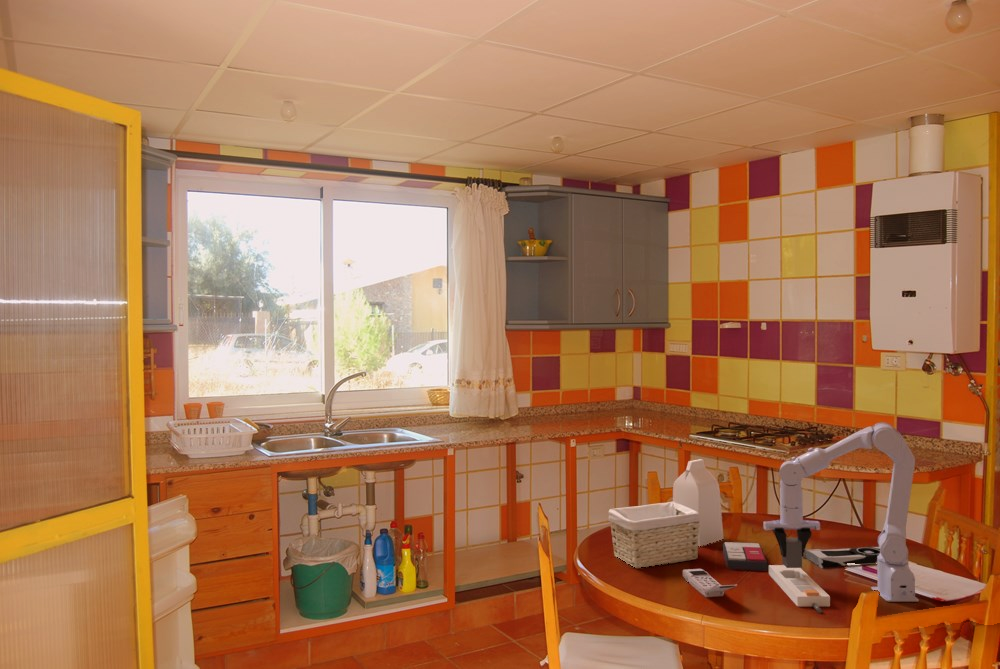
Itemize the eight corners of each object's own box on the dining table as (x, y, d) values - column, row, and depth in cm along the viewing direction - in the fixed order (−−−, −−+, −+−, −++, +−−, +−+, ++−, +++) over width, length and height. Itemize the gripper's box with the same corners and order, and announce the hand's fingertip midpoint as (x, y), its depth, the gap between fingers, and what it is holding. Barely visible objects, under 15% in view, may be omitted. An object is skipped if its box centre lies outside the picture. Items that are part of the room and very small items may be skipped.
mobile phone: (716, 586, 189) (678, 555, 214) (716, 609, 189) (678, 576, 214) (739, 584, 190) (698, 554, 215) (739, 608, 190) (698, 574, 215)
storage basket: (632, 571, 218) (631, 520, 218) (607, 555, 234) (606, 508, 234) (703, 561, 226) (702, 512, 226) (674, 546, 241) (673, 500, 241)
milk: (699, 546, 240) (698, 465, 239) (671, 538, 249) (670, 460, 248) (723, 539, 247) (722, 460, 246) (695, 532, 256) (694, 455, 256)
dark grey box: (727, 557, 218) (722, 540, 233) (727, 572, 218) (722, 553, 233) (767, 559, 216) (760, 541, 230) (767, 574, 216) (760, 555, 231)
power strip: (837, 613, 184) (836, 600, 184) (803, 613, 185) (803, 600, 185) (797, 573, 213) (797, 562, 213) (768, 574, 213) (768, 562, 213)
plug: (802, 567, 203) (801, 542, 203) (786, 567, 203) (786, 542, 203) (796, 562, 208) (795, 536, 208) (781, 562, 208) (780, 536, 208)
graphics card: (802, 548, 226) (881, 544, 229) (802, 560, 226) (881, 555, 229) (819, 559, 216) (902, 554, 219) (820, 571, 216) (902, 566, 219)
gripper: (813, 502, 208) (814, 551, 208) (759, 502, 209) (760, 551, 209) (822, 508, 201) (823, 559, 201) (767, 509, 202) (768, 559, 202)
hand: (792, 555), depth 205 cm, fingers closed on plug, 4 cm apart
